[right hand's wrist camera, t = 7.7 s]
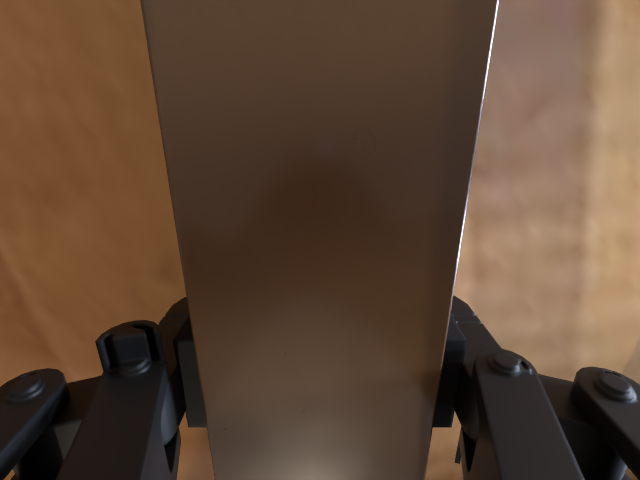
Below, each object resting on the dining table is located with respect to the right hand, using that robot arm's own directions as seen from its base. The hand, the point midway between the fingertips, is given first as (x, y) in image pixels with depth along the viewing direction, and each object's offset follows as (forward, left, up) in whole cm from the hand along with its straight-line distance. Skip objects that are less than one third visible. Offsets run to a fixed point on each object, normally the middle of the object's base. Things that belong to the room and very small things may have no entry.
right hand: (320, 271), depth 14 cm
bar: (+2, -18, 0) cm, 18 cm away
